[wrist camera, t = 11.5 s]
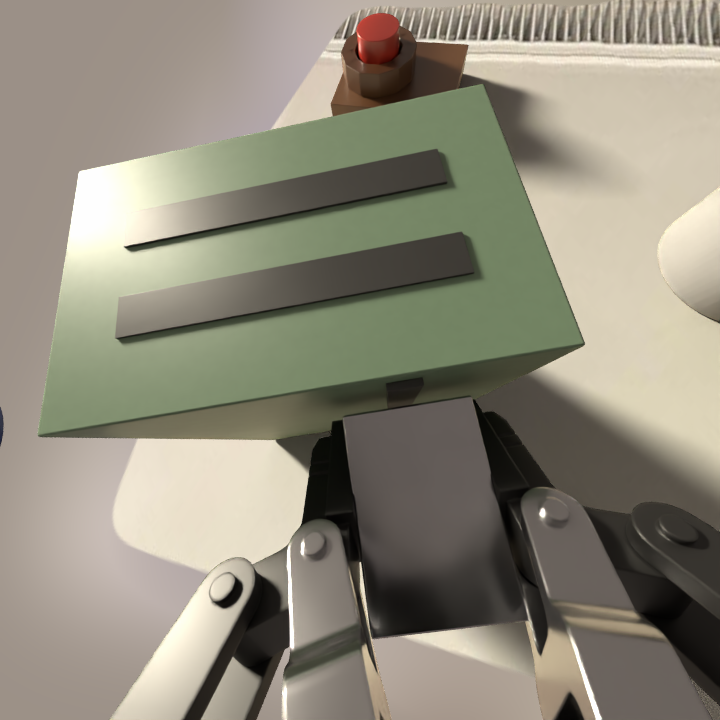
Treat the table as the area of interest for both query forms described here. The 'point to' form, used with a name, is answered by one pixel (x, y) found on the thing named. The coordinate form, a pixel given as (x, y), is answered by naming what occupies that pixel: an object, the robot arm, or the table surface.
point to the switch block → (397, 74)
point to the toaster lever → (429, 521)
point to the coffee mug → (694, 256)
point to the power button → (378, 38)
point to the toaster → (302, 278)
